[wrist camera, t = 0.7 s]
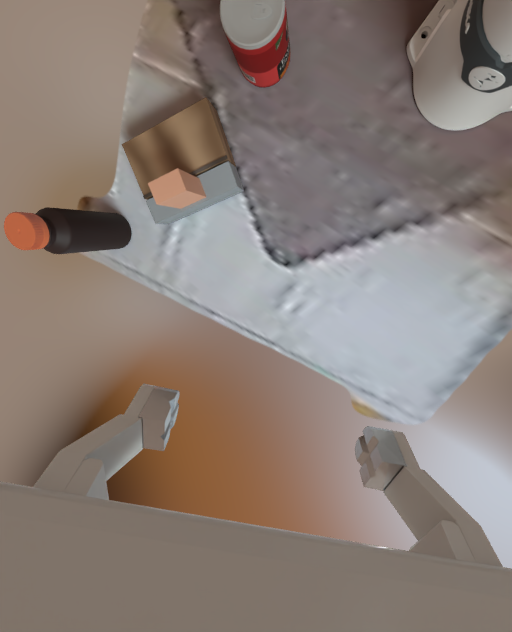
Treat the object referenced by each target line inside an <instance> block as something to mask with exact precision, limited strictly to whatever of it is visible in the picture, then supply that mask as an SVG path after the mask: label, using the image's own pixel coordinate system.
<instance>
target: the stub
mask: <svg viewBox="0 0 512 632" xmlns="http://www.w3.org/2000/svg"><path fill="white" fill-rule="evenodd" d="M148 185H149V188H150V190H151V192H152V195H153V198H151V199H149V200H147V201H146V202H147V205H148V207H149V209H150V212H151V214H152V216H153V219H154V221H155V223H156V224H170V223H172V222H175V221H177V220H179V219H182V218H184V217H186V216H188V215H191V214H193V213H195V212H197V211H200V210H202V209H204V208H206V207H209V206H211V205H213V204H216V203H218V202H220V201H222V200H225V199H227V198H229V197H231V196H234V195H236V194H238V193H240V192H243V191H244V189H243V186H242V183H241V180H240V177H239V174H238V172H237V169H236V167H235V166H234V165H233V164H231V163H230V162H229V161H228V162H226V163H223V164H221V165H219V166H217V167H215V168H213V169H211V170H209V171H207V172H205V173H203V174H201V175H199V176H196V177H195V176H193V175H191V174H189V173H187V172H184V171H182V170H180V169H178V168H177V169H175V170H173V171H171V172H169V173H167V174H165V175H163V176H161V177H159V178H157V179H155V180H153V181H151V182H149V183H148Z"/></svg>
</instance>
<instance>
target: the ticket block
mask: <svg viewBox="0 0 512 632" xmlns="http://www.w3.org/2000/svg"><path fill="white" fill-rule="evenodd" d="M122 146H123V148H124V151H125V153H126V155H127V158H128V160H129V162H130V165H131V167H132V169H133V172H134V174H135V176H136V179H137V181H138V184H139V186H140V188H141V191H142V193H143V195H144V196H143V197H144V199H147V200H149V199H151V198H153V195H152V192H151V190H150V188H149V185H148V183H149V182H151V181H153V180H155V179H157V178H159V177H161V176H163V175H165V174H167V173H169V172H171V171H173V170H175V169H177V168H178V169H180V170H182V171H184V172H187V173H189V174H191V175H193V176H195V177H196V176H199V175H201V174H203V173H205V172H207V171H209V170H211V169H213V168H215V167H217V166H219V165H221V164H223V163H226V162H228V161H229V162H230V163H231V164H233V165H234V166H236V165H235V162H234V159H233V157H232V154H231V151H230V148H229V145H228V142H227V139H226V136H225V133H224V131H223V128H222V125H221V122H220V119H219V116H218V113H217V111H216V109H215V108H214V107H213V105H212V104H211V103H210V101H209V100H208V99H207V98H206V97H205V98H204V99H202V100H200V101H198V102H197V103H195V104H193V105H191V106H189V107H188V108H186V109H184V110H182V111H181V112H179V113H177V114H175V115H173V116H172V117H170V118H168V119H166V120H165V121H163V122H161V123H159V124H157V125H156V126H154V127H152V128H150V129H149V130H147V131H145V132H143V133H141V134H140V135H138V136H136V137H134V138H133V139H131V140H129V141H127V142H125V143H124V144H122Z"/></svg>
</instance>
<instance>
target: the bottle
mask: <svg viewBox="0 0 512 632" xmlns="http://www.w3.org/2000/svg"><path fill="white" fill-rule="evenodd" d="M4 229H5V233H6V236H7V238H8V239H9V241H10V242H11V243H12V244H13V245H14V246H15V247H17V248H19V249H21V250H34V249H43V248H44V249H45V250H46V251H49V252H51V253H54V254H67V253H77V252H88V251H99V250H109V249H120V248H123V247H125V246H126V245H127V244H128V243H129V241H130V239H131V228H130V226H129V223H128V222H127V220H126V219H125V218H123V217H122V216H121V215H118V214H115V213H104V212H93V211H82V210H70V209H59V208H44V209H41V210H39V211H38V212H37V213H36V214H33V213H23V212H13V213H10V214H9V215H8V216H7V217H6V219H5V222H4Z"/></svg>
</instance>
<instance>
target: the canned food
mask: <svg viewBox="0 0 512 632" xmlns="http://www.w3.org/2000/svg"><path fill="white" fill-rule="evenodd" d="M220 18H221V22H222V26H223V29H224V32H225V34H226V37H227V39H228V41H229V44H230V46H231V48H232V50H233V53H234V55H235V57H236V60H237V62H238V64H239V67H240V69H241V71H242V73H243V75H244V77H245V78H246V79H247V80H248V81H249V82H250V83H252V84H254V85H255V86H258V87H269V86H272V85H274V84H276V83H277V82H278V81H279V80H280V79H281V78H282V77H283V75H284V74H285V72H286V70H287V68H288V65H289V61H290V43H289V33H288V22H287V12H286V4H285V0H221V1H220Z"/></svg>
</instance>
